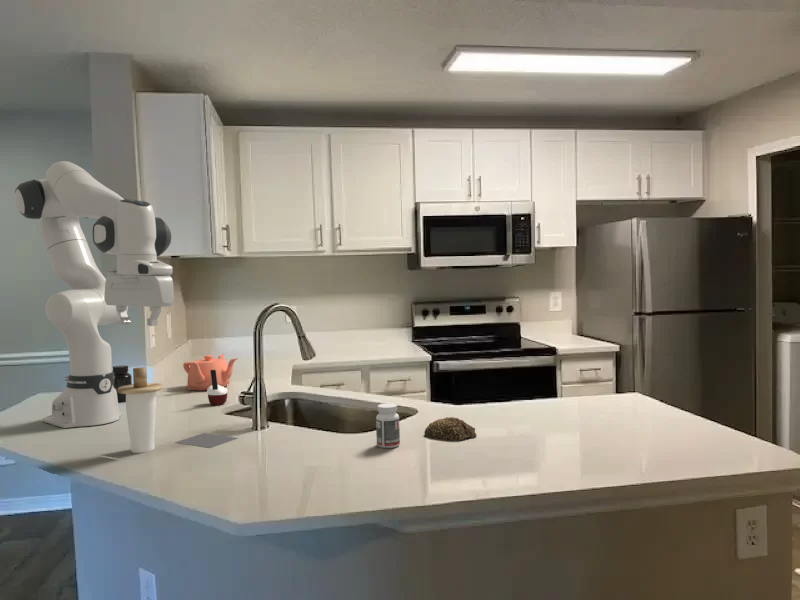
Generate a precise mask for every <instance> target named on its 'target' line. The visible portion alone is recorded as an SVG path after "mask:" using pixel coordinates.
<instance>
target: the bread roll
mask: <svg viewBox="0 0 800 600" xmlns="http://www.w3.org/2000/svg"><path fill="white" fill-rule="evenodd" d="M424 435H425V436H426V437H428V438H431V439H435V440H440V441H453V442H460V441H464V440H466V439H467V438H470V439H476V438H477V433H476V427H473V426H472V425H470V424H468V423H466V422H465V421H464V420H462V419H459V418H458V417H450V416H449V417H448V416H447V417H444V418H439V419H436V420H435V421H433V422H430V423H429V424H428V425H427V426H426V428H425V430H424Z"/></svg>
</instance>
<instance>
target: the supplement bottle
mask: <svg viewBox="0 0 800 600" xmlns="http://www.w3.org/2000/svg"><path fill="white" fill-rule="evenodd" d="M112 371H113V372H114V384H113V387H114V388H115V389H116V392H117V399H118V404H119V403H120V404H122V403H121V402H123V403H126V394H121V393H118V388H119V387H122V386H126V385H131V384H133V378H132V377H133V375H132V374H130V372H129V366H128V365H126V364H122V365H115V366H114V365H112Z"/></svg>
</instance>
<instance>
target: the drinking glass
mask: <svg viewBox="0 0 800 600" xmlns="http://www.w3.org/2000/svg"><path fill="white" fill-rule="evenodd" d="M125 408H126V409H125V410H126V419H127V425H128V434H129V441H130V442H129V443H130V452H131V453H134V454H143V453H149V452H152V451H154V450H155V444H156V443H155V439H156V438H155V436H156V435H155V433H156V418H157V391H155V392H150V393H142V394H126V402H125Z"/></svg>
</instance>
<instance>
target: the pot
mask: <svg viewBox="0 0 800 600" xmlns="http://www.w3.org/2000/svg"><path fill="white" fill-rule="evenodd" d="M224 356H225V353H221V354H219V355H218V358H213V357H214V356H213V355H212V354H211V355H210V354H207V355H204V356H203V357H204V358H201V359H196V360H194V361H186V362H184V363H183V364H182V365H183V369H184V371H185V372H186V374H187V381H186V382H187V388H188V389H189V391H206V390H207V389H208V388H209V387H210V386H211V385H212V380H211V371H210V370H216V377H217V385H220V386H222V387H223V386H225V385H227V384H228V385H229V384H230V381H231V377H232V375H233V368H234V367H233V366H234V363H235V362H236V361H237V360H238V359H239V357H237V358H231V359H230V360H229V361H228V363H227V359H226V358H224Z"/></svg>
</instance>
